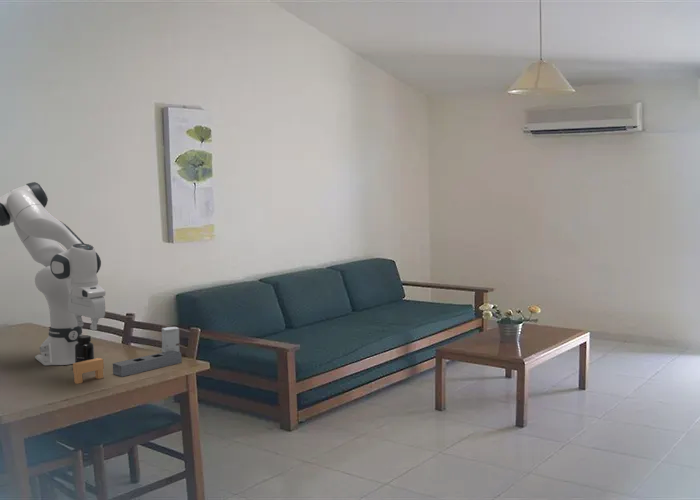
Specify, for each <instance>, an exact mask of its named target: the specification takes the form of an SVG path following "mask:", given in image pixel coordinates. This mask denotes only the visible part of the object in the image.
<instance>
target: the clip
mask: <svg viewBox="0 0 700 500" xmlns="http://www.w3.org/2000/svg"><path fill="white" fill-rule="evenodd" d="M104 365H105V363H104V358H100V357H97V358H94V359H91V360H86V361H82V362H77V363H73V364H72V369H73V371H72V373H73V376H74V377H73V378H74V379H73V380H74V384H76V385H79V384H82V383H83V382H84V380H83V374H86V373H91V372H95V376H94V377H95V379H97V380H101V379H104V367H105V366H104Z"/></svg>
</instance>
